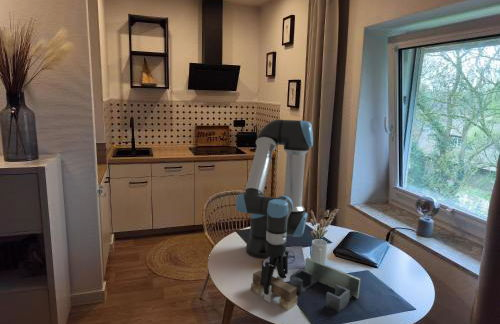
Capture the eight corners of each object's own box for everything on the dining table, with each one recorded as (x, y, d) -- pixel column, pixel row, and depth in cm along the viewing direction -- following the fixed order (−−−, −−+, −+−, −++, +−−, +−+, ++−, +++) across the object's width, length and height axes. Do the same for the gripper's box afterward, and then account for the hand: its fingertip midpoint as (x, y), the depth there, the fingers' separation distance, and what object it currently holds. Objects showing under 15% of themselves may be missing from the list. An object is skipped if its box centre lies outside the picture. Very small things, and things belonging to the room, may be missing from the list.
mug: (309, 262, 162) (311, 238, 160) (324, 263, 162) (326, 239, 159) (310, 273, 153) (312, 248, 150) (326, 275, 152) (328, 249, 149)
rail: (252, 282, 139) (253, 273, 138) (259, 278, 142) (259, 269, 141) (289, 302, 127) (290, 292, 126) (296, 297, 130) (296, 287, 129)
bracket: (287, 287, 142) (288, 269, 140) (306, 274, 152) (307, 257, 150) (341, 313, 126) (343, 293, 124) (358, 297, 136) (360, 278, 135)
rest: (250, 290, 139) (251, 283, 138) (260, 284, 143) (260, 277, 142) (287, 310, 127) (288, 303, 126) (297, 303, 131) (297, 296, 131)
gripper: (267, 253, 120) (264, 312, 125) (299, 236, 135) (296, 290, 140) (251, 246, 125) (249, 303, 130) (283, 230, 140) (281, 282, 145)
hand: (273, 296), depth 135 cm, fingers open, 7 cm apart
